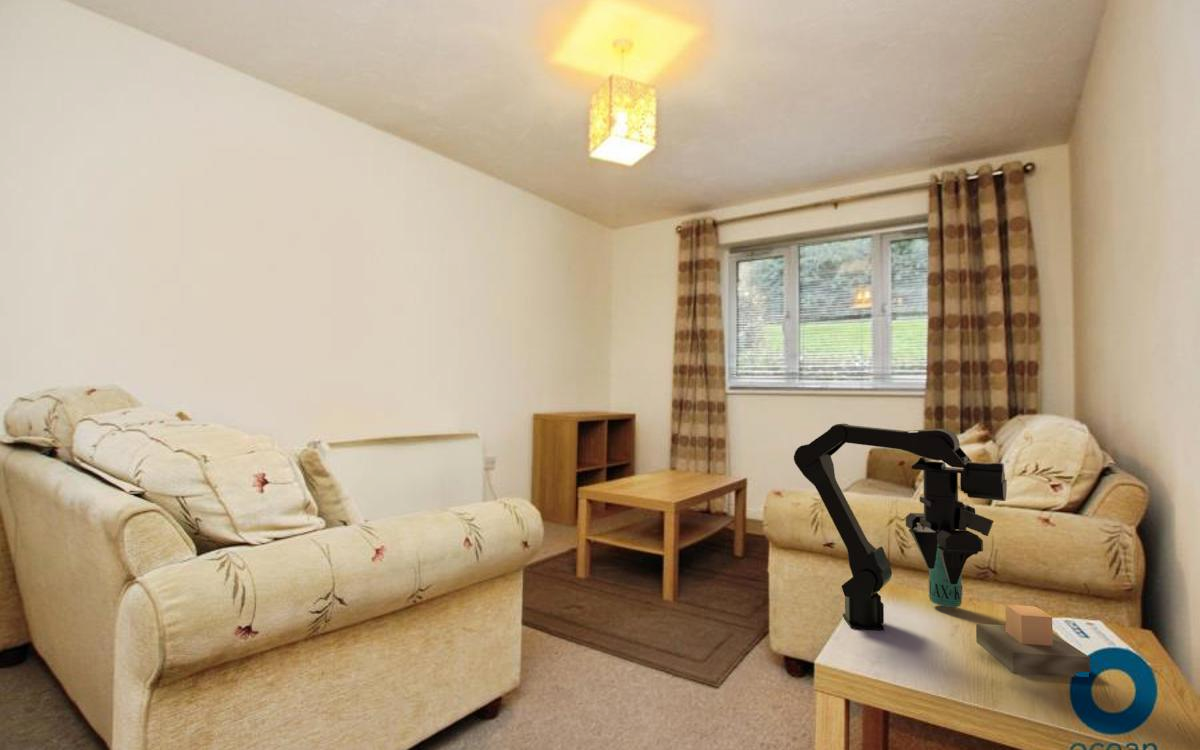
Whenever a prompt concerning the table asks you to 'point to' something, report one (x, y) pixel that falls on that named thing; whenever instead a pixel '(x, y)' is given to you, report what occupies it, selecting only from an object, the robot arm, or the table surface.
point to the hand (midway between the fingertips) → (941, 575)
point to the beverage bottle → (943, 586)
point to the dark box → (1031, 653)
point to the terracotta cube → (1029, 625)
